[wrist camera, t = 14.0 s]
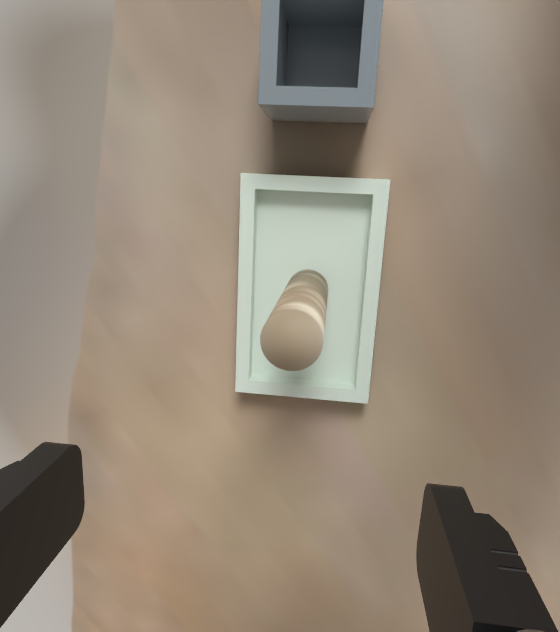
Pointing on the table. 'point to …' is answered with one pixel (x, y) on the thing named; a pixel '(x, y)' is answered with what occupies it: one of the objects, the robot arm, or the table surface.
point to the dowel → (297, 323)
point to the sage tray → (319, 255)
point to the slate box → (319, 59)
